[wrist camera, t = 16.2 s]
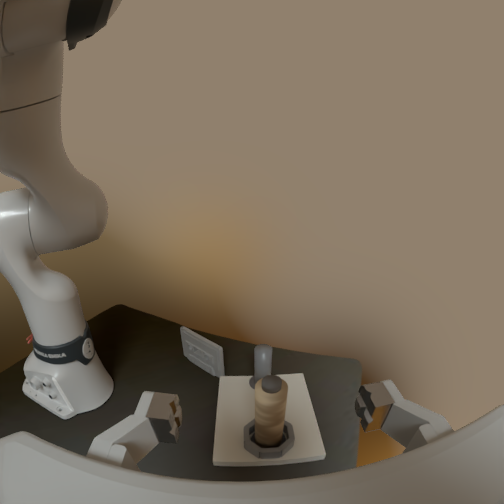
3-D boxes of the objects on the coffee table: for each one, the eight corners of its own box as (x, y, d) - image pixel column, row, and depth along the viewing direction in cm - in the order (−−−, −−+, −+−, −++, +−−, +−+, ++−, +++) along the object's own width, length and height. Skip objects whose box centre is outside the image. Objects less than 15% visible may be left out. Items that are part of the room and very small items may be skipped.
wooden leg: (255, 450, 31) (255, 393, 28) (254, 430, 35) (254, 371, 31) (283, 449, 31) (290, 391, 28) (280, 429, 35) (286, 369, 32)
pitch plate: (213, 465, 29) (205, 431, 27) (220, 379, 49) (217, 341, 47) (324, 459, 30) (337, 423, 27) (301, 377, 50) (306, 338, 47)
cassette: (226, 376, 50) (224, 346, 48) (220, 380, 49) (217, 350, 47) (188, 353, 58) (184, 324, 56) (182, 356, 56) (177, 327, 54)
